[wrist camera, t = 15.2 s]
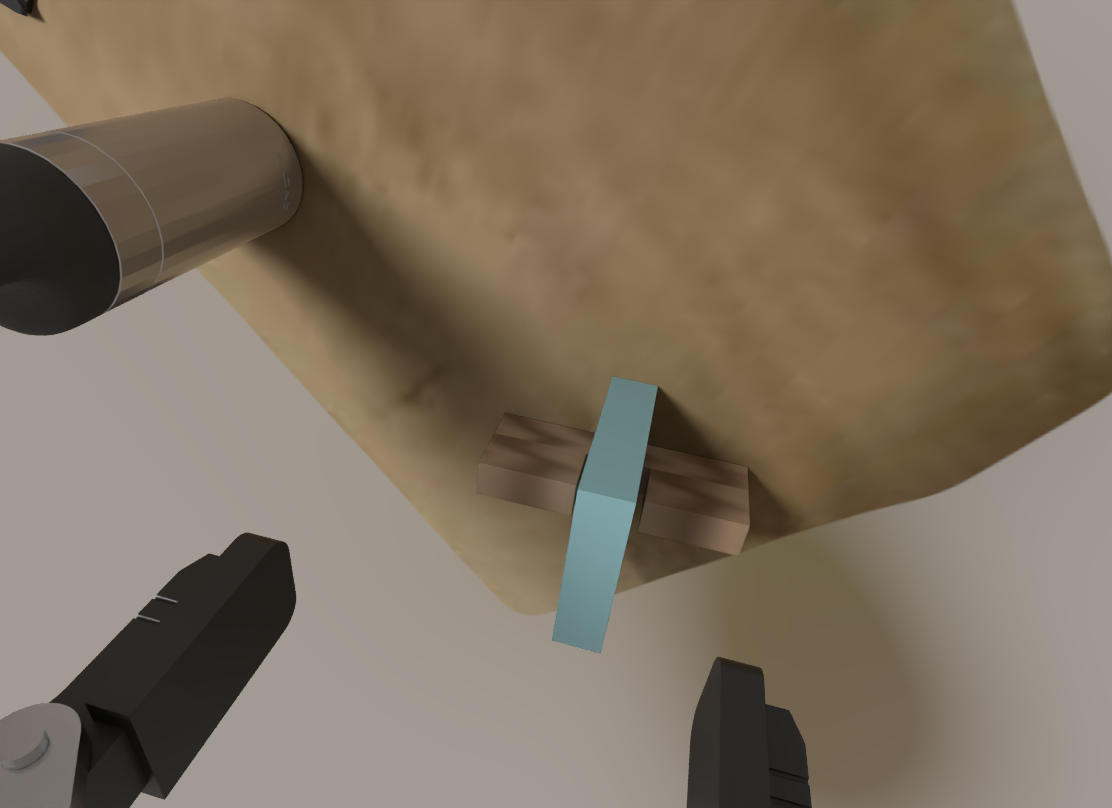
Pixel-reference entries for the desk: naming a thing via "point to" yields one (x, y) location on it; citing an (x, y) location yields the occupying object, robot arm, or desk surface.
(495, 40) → the desk surface
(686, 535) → the walnut slotted board
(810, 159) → the desk surface
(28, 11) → the curved wedge
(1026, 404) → the desk surface
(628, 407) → the teal notched plate
